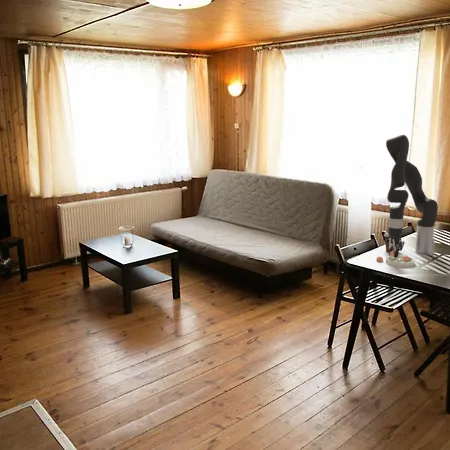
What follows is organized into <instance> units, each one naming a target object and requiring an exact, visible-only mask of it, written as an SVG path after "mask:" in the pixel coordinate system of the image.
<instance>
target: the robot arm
mask: <svg viewBox="0 0 450 450" xmlns="http://www.w3.org/2000/svg"><path fill="white" fill-rule="evenodd" d="M409 140H410V139H409V138H408V136H407V135H405V134H399V135H398V136H394V137H391V138H388V139H387V140H386V142H385V146H386V150H387V151H388V153H389V155H390V157H391V158H392V160H393V162H394V165H393V167H392V170H391V176H390V178H391V179H390V186H389V190H388V192H387V196H386V197H387V201H388V203H391V204H399V205H397V206H392V207H390V209H389V218H388V229H387V232H388V234H389V236H386V237H385V236H384V240H385V239H386V244H385V246H386V245H387V247H389V252H388V254H389V255H388V256H391V255H390V252H391V251H393V250H395V251H394V258H398V255H400V254H399V252H401V251H402V250H403V248H404V246H405V244H406V243H405V241H404V240H402V235H403V233H404V212H405V208H406V204H407V202H408V199H409V196H410V195H411V197H412V200H413V203H414V206H415V208H416V210H417V211H418V212H419V213H421V214H422V217H421V218H420V219H418V220H417V225H416V226H417V227H416V239H415V251H414V252H415V253H417V254H421V255H432V256H433V255H434V248H435V238H434V232H435V224H436V222H437V218H438V209H439V207H438V205H439V204H438V203H437V201H436V200H435V199H432V198H428V197H427V196H426V194H425V192H424V190H423V177H422V175H421V173H420V171H419V169H418V167H417V166H416V165H414V163H412V162H410V161H408V156H409V151H410V141H409ZM404 186H406V187H407V190H406V189H399V188H402V187H404ZM408 190H409V192H408ZM409 193H410V195H409ZM388 242H389V244H388ZM396 247H397V248H396ZM393 248H394V249H393Z"/></svg>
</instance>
